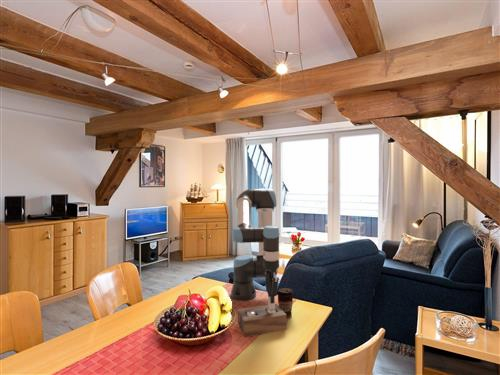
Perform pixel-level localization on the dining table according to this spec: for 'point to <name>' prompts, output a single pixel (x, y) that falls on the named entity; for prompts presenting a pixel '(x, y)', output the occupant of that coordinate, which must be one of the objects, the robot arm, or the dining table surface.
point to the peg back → (271, 311)
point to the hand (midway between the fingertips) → (271, 308)
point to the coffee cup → (285, 300)
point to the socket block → (261, 320)
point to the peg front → (251, 313)
